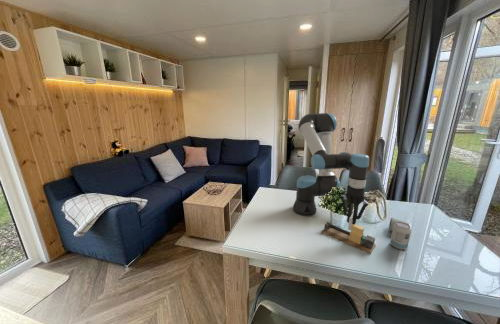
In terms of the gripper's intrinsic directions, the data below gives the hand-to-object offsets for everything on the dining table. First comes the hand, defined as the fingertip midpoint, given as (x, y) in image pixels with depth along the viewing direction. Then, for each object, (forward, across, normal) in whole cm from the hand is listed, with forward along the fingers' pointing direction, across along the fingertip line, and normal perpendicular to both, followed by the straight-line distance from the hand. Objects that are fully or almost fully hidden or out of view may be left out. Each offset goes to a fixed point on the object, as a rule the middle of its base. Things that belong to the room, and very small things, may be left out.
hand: (350, 228), depth 104 cm
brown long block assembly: (+7, -1, 0) cm, 7 cm away
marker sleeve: (+5, +3, 0) cm, 6 cm away
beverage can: (+7, +19, +12) cm, 24 cm away
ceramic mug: (+7, +16, +26) cm, 31 cm away
